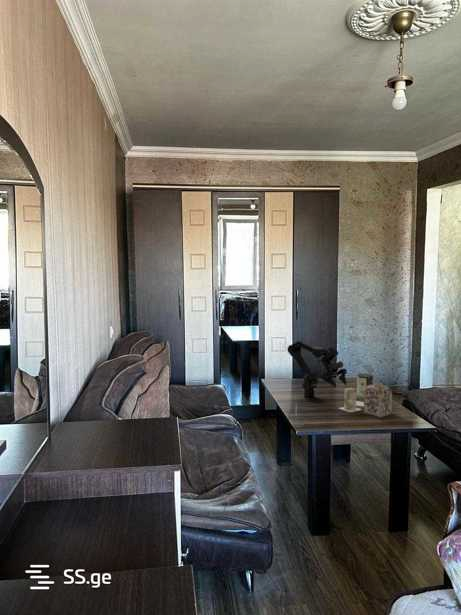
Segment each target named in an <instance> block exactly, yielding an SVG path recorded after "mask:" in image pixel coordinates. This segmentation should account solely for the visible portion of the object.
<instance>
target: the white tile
mask: <svg viewBox="0 0 461 615" xmlns="http://www.w3.org/2000/svg"><path fill="white" fill-rule="evenodd" d="M338 409H339V410H343V411H345V412H349V413H354V412H359V411H362V410H363V409H362V408H359V407H356V409H355V410H351V411H350V410H347V409H344V406H343V407H338Z"/></svg>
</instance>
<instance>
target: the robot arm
mask: <svg viewBox="0 0 461 615" xmlns="http://www.w3.org/2000/svg"><path fill="white" fill-rule="evenodd" d="M302 349H303V350H305V351H307V352H310V353H311V355H312V356H314V358H316V359H318V361H317V362H318V363H317V364H321V365H322V366H323V371H324V372H323V373H322V374H321V375H320V380H321V381H324V382H325V383H326V382H327V383H328V384H330V385H332V386H333V387H334V388H337V384H336V382H335V380H334V379H333V376H337V378H338V380H340V382H341V383H342V384H344V385H345V386H346V385H347V384H348V383H347V379H346V374H347V373H348V370H347V369H346V368H343V367H344V363H343V362H342V361H337V362H336V363H334V362H332V361H333V360H335V358H336V357H337V356H338V355H339V352H338V350H336V349H335V348H333V347H332V346H329V347H328V349H327V350H326V349H325V348H324V347H321V346H320V347H319V346H315V345H312V344H310V343H309V342H306V341H305V340H304V339H303V340H302V339H301V340H297V341H296V342H294V343H292V344H290V345H288V347H287V353H288V354H289V356H291V357H292V358H294V359H295V362H296V363H297V365H298V367H299V369H300V371H301V373H302V374H303V381H304V382H303V383H302V384H301V386H302V389H304V393H303V394H304V395H303V398H306V399H307V398H309V399H314V398H315V397H316V389H315V388H317V386H318V384H319V378H318V376H317V374H316V372H311V370H310V368H309V367H308V365H307V362H306V360H304V358H303V356H302Z"/></svg>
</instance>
